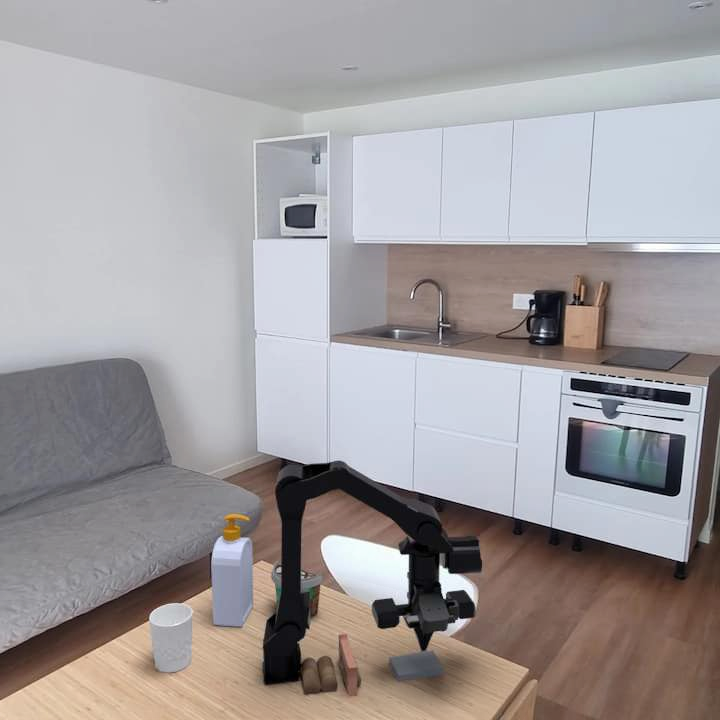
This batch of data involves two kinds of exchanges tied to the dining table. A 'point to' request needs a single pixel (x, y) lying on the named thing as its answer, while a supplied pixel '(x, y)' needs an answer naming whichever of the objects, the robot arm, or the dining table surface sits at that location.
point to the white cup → (171, 636)
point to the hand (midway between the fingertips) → (422, 649)
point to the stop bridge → (348, 664)
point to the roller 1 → (310, 676)
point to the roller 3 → (346, 672)
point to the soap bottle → (232, 576)
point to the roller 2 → (327, 674)
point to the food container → (307, 582)
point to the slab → (416, 666)
